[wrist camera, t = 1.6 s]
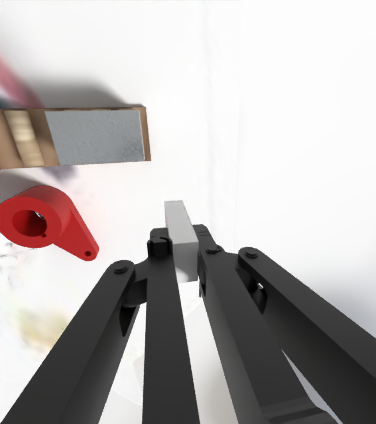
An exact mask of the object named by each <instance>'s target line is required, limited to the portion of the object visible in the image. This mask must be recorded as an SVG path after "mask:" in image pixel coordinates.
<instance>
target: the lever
mask: <svg viewBox="0 0 376 424" xmlns="http://www.w3.org/2000/svg"><path fill="white" fill-rule="evenodd" d="M35 212H37V213H39V214H41V215H42V216H43V217H44V218H45V220H44V219H42V218H40V217H39V216H38V215H37V214H36V213H35ZM0 232H1V233H2V234H3V235H4V236H5V237H6V238H7V239H8V240H10V241H11V242H13V243H15V244H17V245H20V246H23V247H28V248H42V247H46V246H48V245H51V244H52V243H53V244H55V245H56V246H58V247H60V248H62V249H64V250H66V251H67V252H69V253H71V254H73V255H75V256H77V257H78V258H80V259H82V260H84V261H92V260H94V259H95V258H96V256H97V254H98V252H99V246H98V245H97V243H96V241H95V240H94V238H93V236H92V234H91V233H90V231H89V229H88V228H87V226H86V224H85V223H84V221H83V219H82V217H81V216H80V214H79V212H78V211H77V209H76V207H75V206H74V204H73V202H72V201H71V199H70V198H69V197H68V196H67V195H66V194H65V193H64V192H62V191H61V190H59V189H57V188H54V187H50V186H36V187H32V188H30V189H28V190H26V191H24V192H22V193H20V194H18V195H16V196H14V197H12V198H10V199H8V200H6V201H4V202H3V203H2V204H1V205H0Z"/></svg>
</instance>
